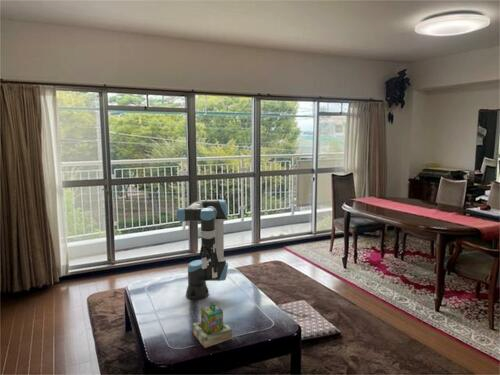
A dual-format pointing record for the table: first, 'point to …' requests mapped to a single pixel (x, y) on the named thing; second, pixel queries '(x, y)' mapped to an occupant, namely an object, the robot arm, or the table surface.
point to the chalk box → (211, 319)
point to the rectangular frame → (212, 335)
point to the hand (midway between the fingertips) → (209, 272)
